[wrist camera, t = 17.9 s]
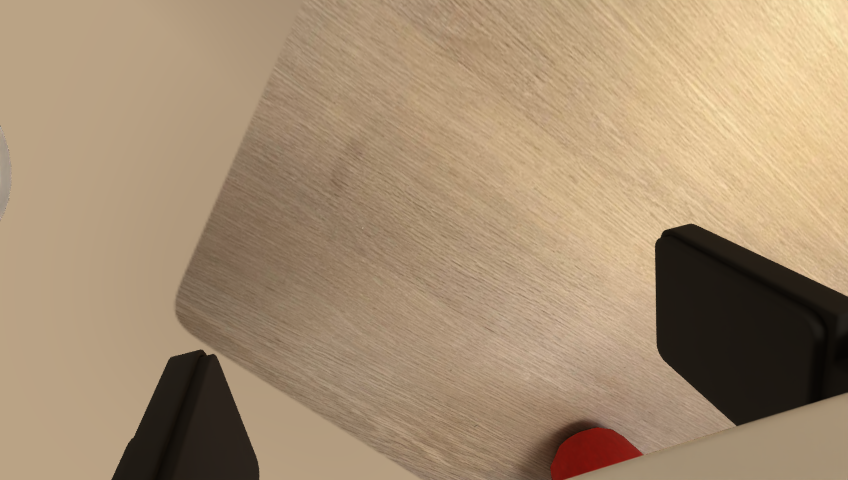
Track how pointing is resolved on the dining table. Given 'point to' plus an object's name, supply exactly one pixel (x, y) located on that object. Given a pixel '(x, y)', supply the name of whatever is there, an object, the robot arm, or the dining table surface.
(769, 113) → the dining table surface
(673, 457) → the robot arm
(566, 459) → the apple
